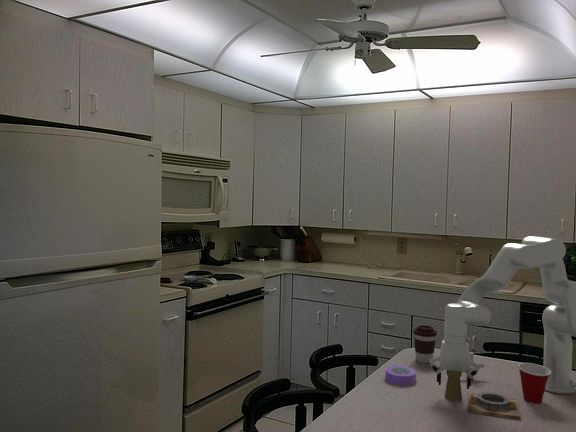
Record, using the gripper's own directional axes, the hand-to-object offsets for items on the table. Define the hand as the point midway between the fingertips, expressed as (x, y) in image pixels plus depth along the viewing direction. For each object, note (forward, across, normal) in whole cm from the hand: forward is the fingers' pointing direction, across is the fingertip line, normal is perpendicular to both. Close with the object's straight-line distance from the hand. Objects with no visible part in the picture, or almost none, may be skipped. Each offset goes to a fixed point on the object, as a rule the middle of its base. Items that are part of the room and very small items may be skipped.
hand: (453, 386), depth 185 cm
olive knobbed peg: (+5, 0, 0) cm, 5 cm away
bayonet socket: (+4, -13, +3) cm, 14 cm away
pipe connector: (+4, -6, -25) cm, 26 cm away
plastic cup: (+4, -27, -8) cm, 29 cm away
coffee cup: (+5, +13, -40) cm, 42 cm away
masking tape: (+5, +20, -12) cm, 24 cm away
